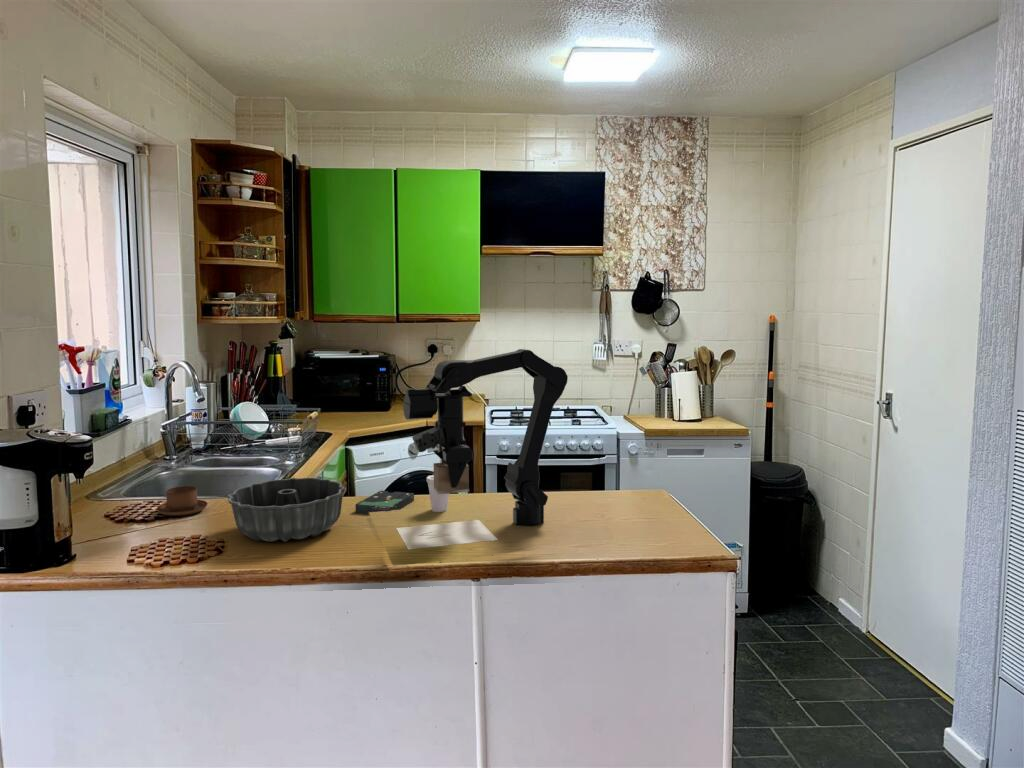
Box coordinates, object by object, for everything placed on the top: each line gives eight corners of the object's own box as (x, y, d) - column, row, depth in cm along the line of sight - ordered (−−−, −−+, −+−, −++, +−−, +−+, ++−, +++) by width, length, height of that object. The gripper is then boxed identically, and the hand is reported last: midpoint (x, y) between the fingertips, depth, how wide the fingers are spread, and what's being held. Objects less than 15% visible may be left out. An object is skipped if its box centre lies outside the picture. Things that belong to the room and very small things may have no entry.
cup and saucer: (146, 517, 188) (145, 493, 188) (181, 505, 200) (179, 482, 199) (184, 521, 185) (183, 497, 184) (217, 508, 196) (216, 485, 195)
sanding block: (463, 486, 172) (463, 461, 171) (469, 491, 167) (468, 465, 166) (433, 488, 170) (433, 463, 169) (438, 494, 165) (437, 467, 164)
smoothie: (450, 517, 185) (450, 463, 184) (425, 517, 186) (424, 463, 184) (453, 510, 192) (452, 457, 190) (428, 510, 192) (427, 457, 190)
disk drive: (380, 500, 205) (354, 514, 191) (379, 490, 205) (354, 503, 190) (414, 502, 202) (391, 517, 188) (414, 492, 202) (391, 506, 188)
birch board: (478, 524, 180) (478, 519, 179) (497, 544, 164) (497, 539, 164) (396, 533, 173) (396, 528, 173) (408, 554, 158) (408, 549, 158)
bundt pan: (245, 558, 157) (243, 512, 156) (218, 527, 179) (216, 487, 178) (362, 536, 172) (361, 494, 171) (323, 510, 194) (322, 472, 193)
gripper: (407, 412, 173) (409, 478, 175) (422, 425, 155) (424, 497, 157) (454, 410, 176) (455, 474, 178) (474, 422, 159) (474, 493, 160)
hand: (451, 484), depth 168 cm, fingers closed on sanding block, 5 cm apart
